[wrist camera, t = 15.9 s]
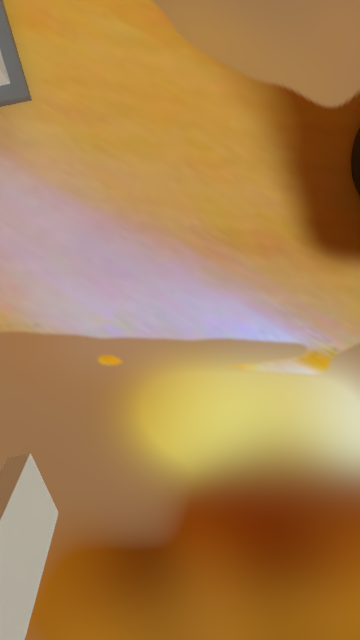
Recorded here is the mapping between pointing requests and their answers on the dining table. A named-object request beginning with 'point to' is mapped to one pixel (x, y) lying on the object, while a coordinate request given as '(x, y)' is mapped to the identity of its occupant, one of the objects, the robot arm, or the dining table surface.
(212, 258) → the dining table surface
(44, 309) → the dining table surface
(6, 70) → the dock
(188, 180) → the dining table surface
